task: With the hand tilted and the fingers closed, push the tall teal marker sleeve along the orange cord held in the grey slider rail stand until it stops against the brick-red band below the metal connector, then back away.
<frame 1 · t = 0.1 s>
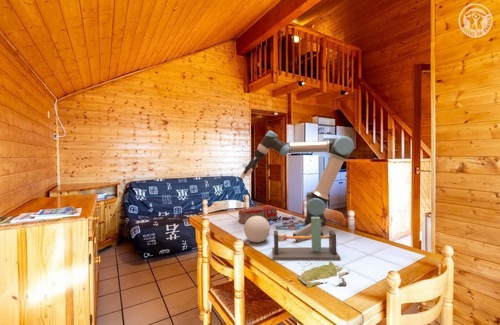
hand: (244, 176, 171), 36 cm above the table, tool tilted 35°, fingers open, 13 cm apart
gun: (309, 238, 146), on the table
toy 2: (258, 220, 189), on the table
toy: (257, 241, 144), on the table
grey slider rail stand: (304, 255, 123), on the table
landscape model: (328, 279, 100), on the table
marker sleeve: (316, 233, 122), point 11 cm above the table, slide at 0.0 cm
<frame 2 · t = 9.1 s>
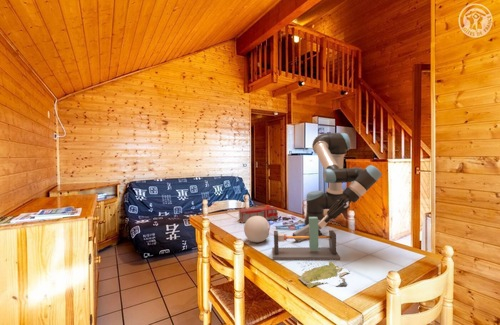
hand: (320, 226, 121), 15 cm above the table, tool tilted 45°, fingers closed
marker sleeve: (313, 233, 122), point 11 cm above the table, slide at 1.2 cm, touching gripper
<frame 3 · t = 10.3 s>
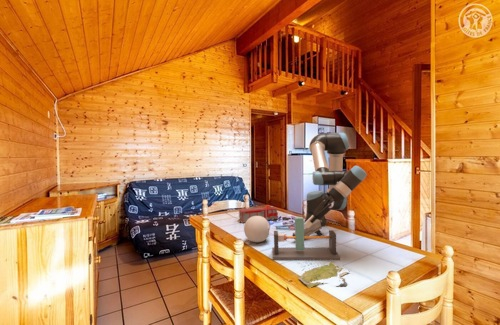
hand: (305, 226, 122), 15 cm above the table, tool tilted 45°, fingers closed
marker sleeve: (299, 233, 122), point 11 cm above the table, slide at 8.2 cm, touching gripper
everything else where it was.
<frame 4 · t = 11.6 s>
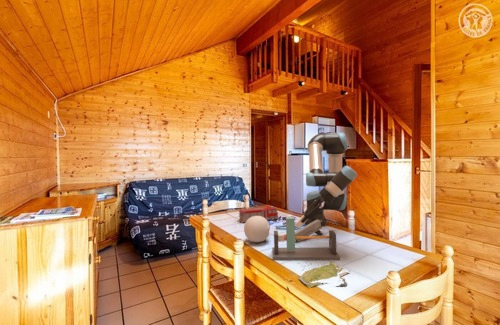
hand: (296, 226, 122), 15 cm above the table, tool tilted 45°, fingers closed
marker sleeve: (290, 233, 123), point 11 cm above the table, slide at 12.6 cm, touching gripper
everything else where it was.
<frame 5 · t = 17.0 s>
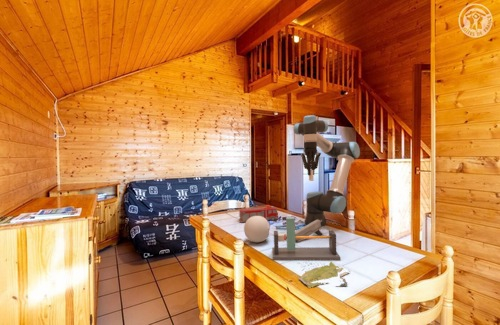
hand: (311, 180, 148), 34 cm above the table, tool pointing down, fingers closed
marker sleeve: (290, 233, 123), point 11 cm above the table, slide at 12.5 cm
at the end: marker sleeve slide at 12.5 cm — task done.
